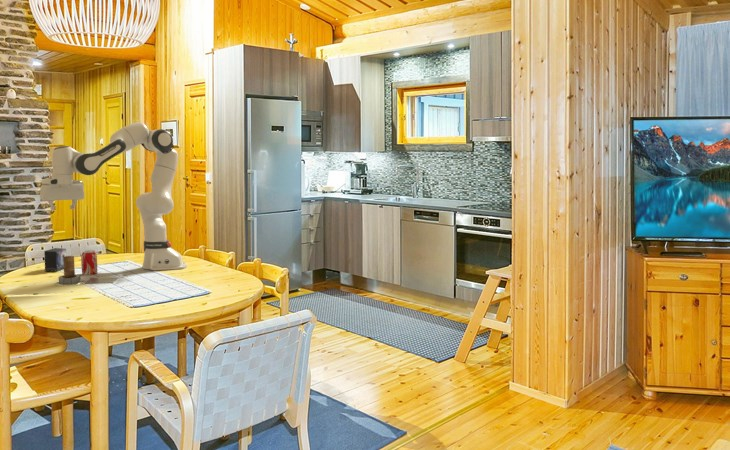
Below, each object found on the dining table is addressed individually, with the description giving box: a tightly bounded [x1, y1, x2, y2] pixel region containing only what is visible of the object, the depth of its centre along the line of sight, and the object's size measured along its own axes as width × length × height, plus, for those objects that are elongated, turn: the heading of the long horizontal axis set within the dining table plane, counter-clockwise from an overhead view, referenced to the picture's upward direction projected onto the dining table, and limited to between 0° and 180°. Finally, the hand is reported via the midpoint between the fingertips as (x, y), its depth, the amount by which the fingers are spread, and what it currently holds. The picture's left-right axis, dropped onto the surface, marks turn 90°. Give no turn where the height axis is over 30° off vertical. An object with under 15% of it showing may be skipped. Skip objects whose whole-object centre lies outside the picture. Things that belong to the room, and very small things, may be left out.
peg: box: [63, 255, 76, 278], centre depth 286 cm, size 4×4×12 cm
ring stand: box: [54, 273, 85, 287], centre depth 287 cm, size 12×12×4 cm
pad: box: [84, 276, 118, 285], centre depth 292 cm, size 12×12×1 cm
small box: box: [44, 247, 67, 272], centre depth 321 cm, size 11×6×10 cm, turn 179°
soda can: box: [80, 250, 98, 276], centre depth 307 cm, size 7×7×12 cm
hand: (63, 209), depth 300 cm, fingers open, 8 cm apart
